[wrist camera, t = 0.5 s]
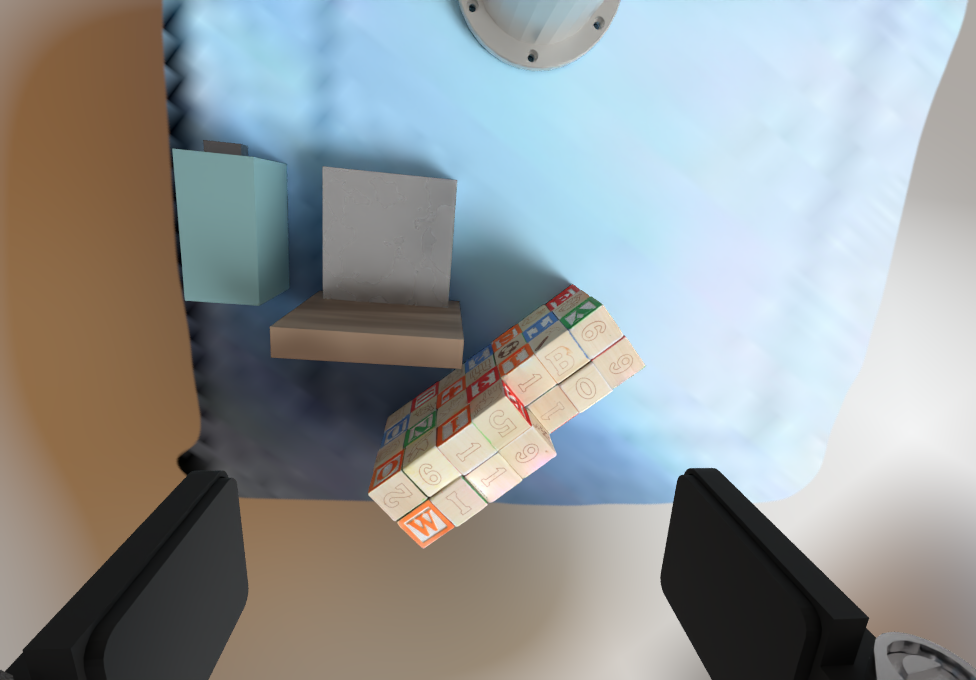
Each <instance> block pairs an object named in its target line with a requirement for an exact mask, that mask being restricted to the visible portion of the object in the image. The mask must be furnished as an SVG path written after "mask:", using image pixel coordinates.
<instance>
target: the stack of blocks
mask: <svg viewBox="0 0 976 680" xmlns="http://www.w3.org/2000/svg"><path fill="white" fill-rule="evenodd" d="M644 367H645V364H644V363H643V361H642V360H641V358H640V357H639V355H638V354H637V352H636V351H635V350H634V348H633V347H632V345H631V344H630V342H629V341H628V339H627V338H626V337H625V336H624V335H623V333H622V332H621V330H620V329H619V327H618V326H617V324H616V323H615V321H614V320H613V318H612V317H611V315H610V314H609V313H608V311H607V310H606V308H605V307H604V305H603V304H602V303H600V302H599V301H597V300H596V299H594V298H593V297H590V296H589V295H588V294H586V293H585V292H584V291H582V290H580V289H579V288H577V287H576V286H575V285H573V284H572V285H570V286H569V287H568V288H566V289H565V290H564V291H562V292H561V293H560V294H558V295H557V296H556V297H554V298H553V299H552V300H551V301H549V302H548V303H547V304H546V305H542V306H541V307H539V308H538V309H536V310H535V311H534V312H532V313H531V314H530V315H528V316H527V317H526V318H524V319H523V320H522V321H520V322H519V323H518V324H516V325H515V326H513V327H512V328H510V329H509V330H508V331H506V332H505V333H503V334H502V335H501V336H499V337H498V338H496V339H495V340H494V341H492V343H491V344H490V345H488V346H487V347H485V348H484V349H483V350H481V351H480V352H479V353H477V354H476V355H474V356H473V357H472V358H470V359H469V360H467V361H466V362H465V363H464V364H462V369H456V370H454V371H453V372H451V373H450V374H449V375H447V376H446V377H445V378H443V379H442V380H441V381H438V382H436V383H435V384H434V385H432V386H431V387H429V388H428V389H427V390H425V391H424V392H423V393H421V394H420V395H418V396H417V397H416V398H414V399H413V400H412V401H410V402H408V403H407V404H406V405H404V406H403V407H401V408H400V409H399V410H397V411H396V412H394V413H393V414H392V415H390V416H389V417H388V419H387V423H386V426H385V430H384V436H383V439H382V443H381V446H380V450H379V451H378V454H377V457H376V461H375V465H374V469H373V471H374V473H373V477H372V480H371V484H370V487H369V491H368V495H369V496H370V497H371V498H372V499H373V500H374V501H375V502H376V503H377V504H378V505H379V506H380V507H381V508H382V509H383V510H384V511H385V512H386V513H387V514H388V515H389V516H390V517H391V519H393V520H394V521H396V520H397V523H398V525H399V526H400V527H401V528H402V529H403V530H404V531H405V532H406V533H407V534H408V535H409V536H410V537H411V538H412V539H414V541H415V542H416V543H417V544H418V545H419V546H421V547H422V548H425V547H427V546H428V545H429V544H431V543H432V542H434V541H435V540H437V539H438V538H439V537H441V536H442V535H444V534H445V533H446V532H448V531H449V530H451V529H452V528H454V526H459V525H461V524H462V523H464V522H465V521H466V520H468V519H469V518H470V517H472V516H473V515H475V514H476V513H477V512H479V511H480V510H481V509H483V508H484V507H486V506H487V504H488V503H489V502H494V501H495V500H496V499H498V498H499V497H500V496H502V495H503V494H505V493H506V492H507V491H509V490H510V489H511V488H513V487H514V486H516V485H517V484H518V483H520V482H521V481H522V479H523V478H526V477H527V476H529V475H530V474H531V473H533V472H534V471H536V470H537V469H538V468H540V467H541V466H543V465H544V464H545V463H547V462H548V461H549V460H551V459H552V458H553V457H555V456H556V455H557V454H556V452H555V449H554V446H553V444H552V441H551V438H550V436H549V434H550V433H552V432H553V431H555V430H556V429H558V428H559V427H560V426H562V425H563V424H565V423H566V422H567V421H569V420H570V419H572V418H573V417H575V416H576V415H577V414H579V413H582V412H583V411H585V410H586V409H588V408H589V407H590V406H592V405H593V404H595V403H596V402H598V401H599V400H600V399H602V398H603V397H605V396H606V395H608V394H609V393H610V392H612V391H613V389H614V388H616V387H617V386H619V385H620V384H621V383H623V382H624V381H626V380H627V379H629V378H630V377H632V376H633V375H634V374H636V373H637V372H639V371H640V370H641V369H643V368H644Z"/></svg>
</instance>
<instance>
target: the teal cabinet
mask: <svg viewBox="0 0 976 680" xmlns="http://www.w3.org/2000/svg"><path fill="white" fill-rule="evenodd" d="M203 143H204V152H200V151H191V150H181V149H172V150H173V162H174V174H175V186H176V198H177V210H178V222H179V234H180V246H181V258H182V270H183V282H184V294H185V301H200V302H214V303H228V304H242V305H256V306H260V305H261V304H263V303H265V302H267V301H268V300H270V299H272V298H274V297H275V296H277V295H279V294H281V293H282V292H284V291H286V290H288V289H289V288H290V287H289V242H288V196H287V164H283V163H279V162H274V161H270V160H265V159H260V158H256V157H249V156H248V146H246V145H242V144H235V143H226V142H216V141H207V140H203Z"/></svg>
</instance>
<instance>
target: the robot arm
mask: <svg viewBox="0 0 976 680" xmlns="http://www.w3.org/2000/svg"><path fill="white" fill-rule="evenodd" d="M620 1H621V0H458V2H459V6H460V9H461V12H462V14H463V16H464V19H465V21H466V23H467V25H468V27H469V29H470V30H471V32H472V33H473V35H474V36H475V37H476V39H477V40H478V42H479V43H480V44H481V45H482V46H483V47H484V48H485V49H486V50H487V51H488V52H489V53H490V54H492V55H493V56H495V57H496V58H498V59H499V60H501V61H502V62H504V63H506V64H508V65H511V66H513V67H516V68H518V69H524V70H529V71H549V70H553V69H557V68H561V67H564V66H566V65H568V64H570V63H572V62H574V61H576V60H578V59H579V58H580V57H582V56H583V55H584V54H586V53H587V52H588V51H589V50H590V49H591V48H592V47H593V46H594V45H595V44H596V43H597V42H598V41H599V40H600V39H601V38H602V36H603V35H604V34H605V32H606V31H607V30H608V28H609V26H610V24H611V22H612V20H613V18H614V17H615V15H616V13H617V10H618V7H619V4H620ZM470 6H473V7H475V11H474V12H471V11H470V10H469V7H470ZM594 24H597V25H598V30H597V29H595V27H594ZM528 56H532V57H533V59H534V60H533V62H530V61H528ZM660 578H661V586H662V590H663V593H664V595H665V596H666V598H667V600H668V602H669V604H670V606H671V607H672V609H673V611H674V613H675V614H676V616H677V618H678V620H679V621H680V623H681V625H682V627H683V629H684V631H685V632H686V634H687V636H688V638H689V640H690V641H691V643H692V645H693V647H694V649H695V650H696V652H697V654H698V656H699V658H700V659H701V661H702V663H703V665H704V666H705V668H706V670H707V672H708V673H709V675H710V677H711V679H712V680H976V669H975V668H974V667H972V666H971V665H970V664H969V663H968V662H966V661H965V660H963V659H962V658H960V657H959V656H957V655H955V654H954V653H952V652H951V651H949V650H947V649H946V648H943V647H941V646H939V645H937V644H935V643H933V642H931V641H929V640H926V639H923V638H920V637H917V636H914V635H911V634H906V633H899V632H890V633H883V634H881V635H880V636H879V637H877V638H876V637H875V636H874V635H873V634H872V633H871V632H870V631H869V630H867V628H866V626H867V623H868V620H869V617H867V615H866V614H865V613H864V612H863V611H861V609H859V608H858V607H857V606H856V605H855V604H854V603H853V602H852V601H851V600H850V599H849V598H848V597H847V596H846V595H845V594H844V593H843V592H842V591H841V590H840V589H839V588H838V587H837V586H836V585H835V584H834V583H833V582H832V581H831V580H830V579H829V578H828V577H827V576H826V575H825V574H824V573H823V572H822V571H821V570H820V569H819V568H818V567H816V565H815V564H814V563H812V561H810V560H809V559H808V558H807V557H806V556H805V555H804V554H803V553H802V552H801V551H800V550H799V549H798V548H797V547H796V546H795V545H794V544H793V543H792V542H791V541H790V540H789V539H788V538H787V537H786V536H785V535H784V534H783V533H782V532H781V531H780V530H779V529H778V528H777V527H776V526H775V525H774V524H773V523H772V522H771V521H770V520H769V519H767V518H766V516H765V515H764V514H762V513H761V512H760V511H759V510H758V509H757V508H756V507H755V506H754V505H753V504H752V503H751V502H750V501H749V500H748V499H747V498H746V497H745V496H744V495H743V494H742V493H741V492H740V491H739V490H738V489H737V488H736V487H735V486H734V485H733V484H732V483H731V482H730V481H729V480H728V479H727V478H726V477H725V476H724V475H723V474H722V473H721V472H720V471H718V470H717V469H715V468H689V469H687V470H686V472H685V474H684V475H681V476H679V478H678V480H677V485H676V490H675V496H674V502H673V507H672V514H671V519H670V525H669V530H668V537H667V542H666V547H665V553H664V558H663V564H662V570H661V577H660ZM247 596H248V579H247V570H246V561H245V552H244V543H243V534H242V525H241V516H240V507H239V498H238V489H237V483H236V480H235V479H234V478H228V475H227V473H226V472H225V471H192V472H191V473H190V474H188V475H187V477H186V478H185V479H184V480H183V481H182V482H181V483H180V484H179V485H178V486H177V487H176V488H175V489H174V490H173V491H172V492H171V494H170V495H169V496H168V497H167V498H166V499H165V500H164V501H163V502H162V503H161V504H160V505H159V506H158V507H157V508H156V510H154V512H153V513H152V514H151V515H150V516H149V517H148V518H147V519H146V520H145V521H144V522H143V523H142V524H141V525H140V526H139V527H138V528H137V529H136V530H135V532H134V533H133V534H132V535H131V536H130V537H129V538H128V539H127V540H126V541H125V542H124V543H123V544H122V545H121V546H120V547H119V548H118V550H117V551H116V552H115V553H114V554H113V555H112V556H111V557H110V558H109V559H108V560H107V561H106V562H105V563H104V565H102V567H101V568H100V569H99V570H98V571H97V572H96V573H95V574H94V575H93V576H92V577H91V578H90V579H89V580H88V581H87V583H85V584H84V586H83V587H82V588H81V589H80V590H79V591H78V592H77V593H76V594H75V595H74V596H73V597H72V598H71V599H70V601H68V603H67V604H66V605H65V606H64V607H63V608H62V609H61V610H60V611H59V612H58V613H57V614H56V615H55V616H54V617H53V618H52V619H51V620H50V622H49V623H48V624H47V625H46V626H45V627H44V628H43V629H42V630H41V631H40V632H39V633H38V634H37V635H36V636H35V638H34V639H32V641H31V642H30V643H29V644H28V645H27V646H26V647H25V648H24V649H23V653H22V654H21V655H20V656H19V657H18V658H17V659H16V660H15V661H14V663H13V664H12V665H11V666H10V667H9V668H8V669H7V670H6V671H5V672H4V671H2V670H0V680H208V679H209V677H210V675H211V673H212V671H213V669H214V667H215V665H216V663H217V661H218V659H219V657H220V655H221V653H222V651H223V649H224V647H225V645H226V643H227V641H228V639H229V637H230V635H231V633H232V631H233V629H234V627H235V625H236V623H237V621H238V619H239V617H240V615H241V613H242V611H243V609H244V606H245V604H246V601H247Z"/></svg>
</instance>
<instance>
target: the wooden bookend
mask: <svg viewBox="0 0 976 680" xmlns="http://www.w3.org/2000/svg"><path fill="white" fill-rule="evenodd" d="M456 191H457V180H450V179H441V178H431V177H421V176H411V175H402V174H392V173H382V172H372V171H363V170H353V169H343V168H333V167H323V291H318V292H317V293H316V294H314V295H313V296H312V297H310V298H309V299H307V300H306V301H305V302H303V303H302V304H301V305H299V306H298V307H296V308H295V309H294V310H292V311H291V312H290V313H288V314H287V315H285V316H284V317H283V318H281V319H280V320H279V321H277V322H276V323H274V324H273V325H272V326H270V343H271V358H288V359H305V360H321V361H338V362H355V363H371V364H388V365H404V366H421V367H438V368H454V369H462V358H463V346H464V336H463V328H462V319H461V311H460V303H459V301H450V300H449V288H450V274H451V260H452V246H453V232H454V218H455V205H456Z"/></svg>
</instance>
